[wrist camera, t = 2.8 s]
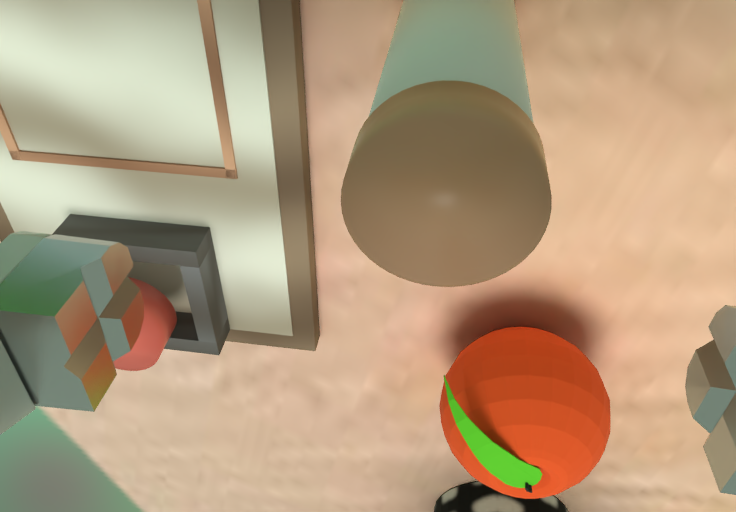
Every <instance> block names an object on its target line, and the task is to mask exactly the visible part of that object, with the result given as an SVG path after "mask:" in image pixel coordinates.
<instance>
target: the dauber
mask: <svg viewBox="0 0 736 512" xmlns="http://www.w3.org/2000/svg"><path fill="white" fill-rule="evenodd" d="M341 207H342V214H343V218H344V221H345V224H346V227H347V229H348V231H349V233H350V235H351V237H352V238H353V240H354V242H355V243H356V244H357V246H358V247H359V248H360V250H361V251H362V252H363V253H364V254H365V255H366V256H367V257H368V258H369V259H370V260H372V261H373V262H374V263H376V264H377V265H378V266H380V267H381V268H383V269H384V270H386V271H388V272H389V273H392V274H394V275H396V276H398V277H400V278H403V279H406V280H408V281H411V282H415V283H419V284H424V285H430V286H441V287H455V286H465V285H472V284H476V283H480V282H484V281H487V280H490V279H492V278H495V277H497V276H499V275H501V274H504V273H506V272H507V271H509V270H511V269H512V268H514V267H515V266H517V265H518V264H519V263H520V262H522V261H523V260H524V259H525V258H526V257H527V256H528V255H529V254H530V253H531V252H532V251H533V250H534V249H535V247H536V246H537V245H538V243H539V242H540V240H541V238H542V236H543V235H544V233H545V231H546V228H547V225H548V222H549V219H550V213H551V190H550V184H549V178H548V173H547V167H546V161H545V155H544V149H543V145H542V142H541V139H540V135H539V133H538V131H537V129H536V128H535V126H534V124H533V118H532V112H531V105H530V99H529V93H528V86H527V80H526V73H525V67H524V60H523V54H522V48H521V41H520V35H519V28H518V22H517V16H516V9H515V3H514V0H403V4H402V7H401V10H400V14H399V17H398V21H397V24H396V27H395V31H394V34H393V37H392V41H391V44H390V47H389V51H388V54H387V58H386V61H385V64H384V68H383V71H382V74H381V78H380V81H379V84H378V88H377V91H376V95H375V98H374V101H373V105H372V108H371V111H370V115H369V117H368V119H367V120H366V121H365V123H364V125H363V126H362V128H361V130H360V132H359V134H358V137H357V139H356V142H355V145H354V148H353V152H352V155H351V158H350V161H349V164H348V168H347V171H346V174H345V177H344V181H343V186H342V191H341Z"/></svg>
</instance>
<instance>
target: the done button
mask: <svg viewBox="0 0 736 512" xmlns="http://www.w3.org/2000/svg"><path fill="white" fill-rule="evenodd" d="M128 278H129V279H130V280H131V281H133V282H134V283H135V284H136V285H137V286H138V287H139V288H140V290H141V293H142V297H143V301H144V319H143V323H142V327H141V331H140V335H139V337H138V339H137V341H136V342H135V344H134V346H133V348H132V350H131V351H130V352H128V353H126V354H125V355H123V356H121V357H120V358H118V359H116V360H115V361H114V365H115V368H117V369H121V370H129V371H138V370H144V369H147V368H150V367H151V366H153V365H154V364H155V363H156V362H157V360H158V359H159V357H160V355H161V353H162V351H163V349H164V347H165V345H166V343H167V341H168V340H169V338H170V336H171V334H172V332H173V330H174V328H175V326H176V323H177V315H176V311H175V309H174V307H173V305H172V304H171V302H170V301H169V300H168V298H167V297H166V296H165V295H164V294H163V293H161V292H160V291H159V290H157V289H156V288H154V287H153V286H151V285H149V284H147V283H145V282H143V281H141V280H138V279H135V278H131V277H128Z"/></svg>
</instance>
